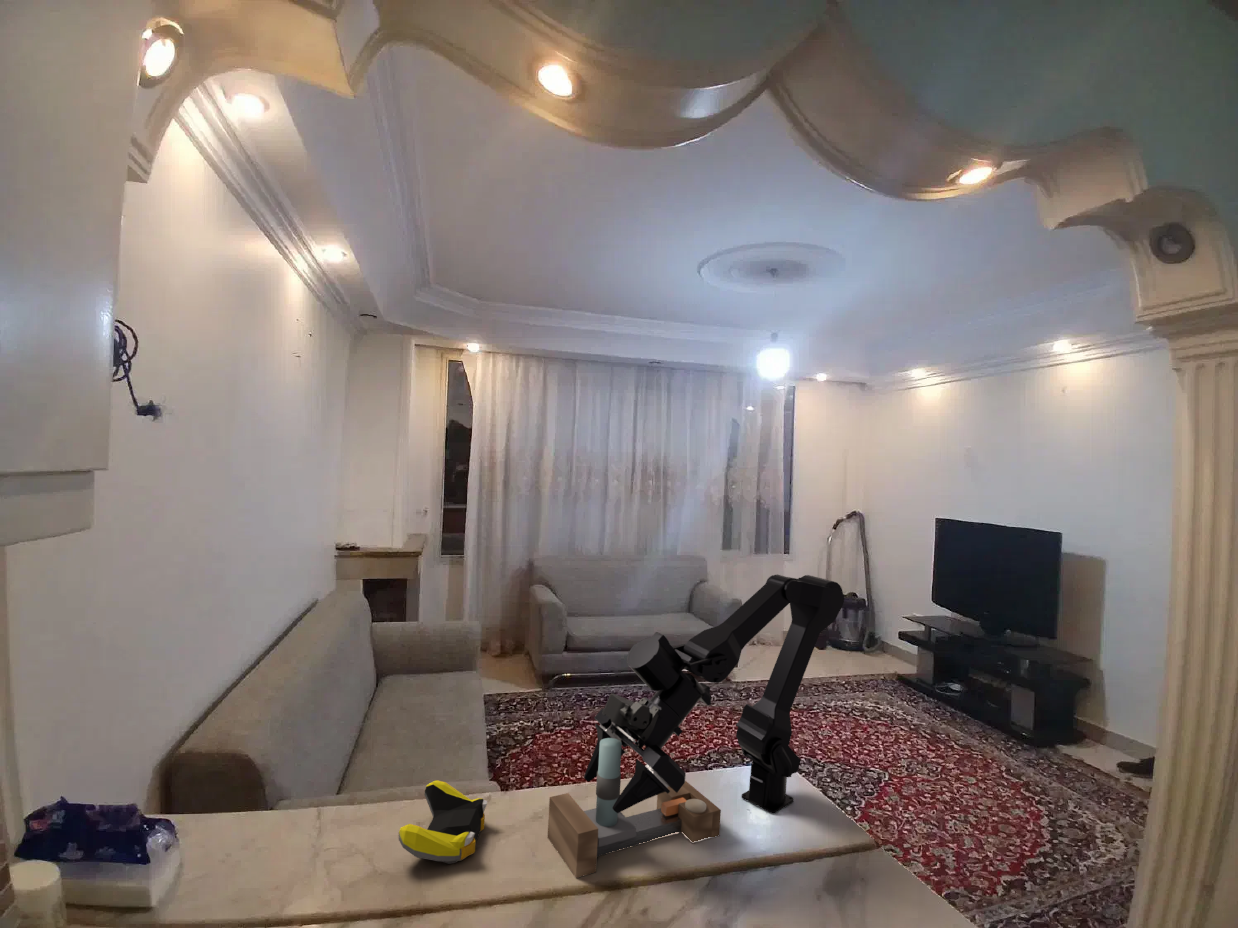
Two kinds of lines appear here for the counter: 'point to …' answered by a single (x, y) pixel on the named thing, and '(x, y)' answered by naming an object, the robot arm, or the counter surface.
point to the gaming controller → (446, 826)
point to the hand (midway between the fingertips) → (599, 794)
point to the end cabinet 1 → (573, 834)
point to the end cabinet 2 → (694, 812)
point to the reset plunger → (671, 806)
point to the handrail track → (646, 829)
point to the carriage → (609, 796)
